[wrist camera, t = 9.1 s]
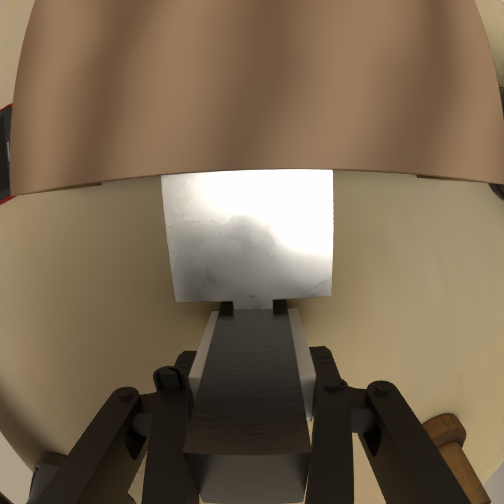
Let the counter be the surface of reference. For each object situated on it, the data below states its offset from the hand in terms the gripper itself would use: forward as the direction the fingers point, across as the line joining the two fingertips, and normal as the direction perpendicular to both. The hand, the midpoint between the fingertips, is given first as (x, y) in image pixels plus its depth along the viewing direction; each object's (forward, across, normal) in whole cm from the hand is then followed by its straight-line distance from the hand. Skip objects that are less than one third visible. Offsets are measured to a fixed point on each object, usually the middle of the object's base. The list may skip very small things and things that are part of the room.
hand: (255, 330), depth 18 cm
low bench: (+1, +1, +15) cm, 15 cm away
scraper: (+1, 0, +8) cm, 8 cm away
